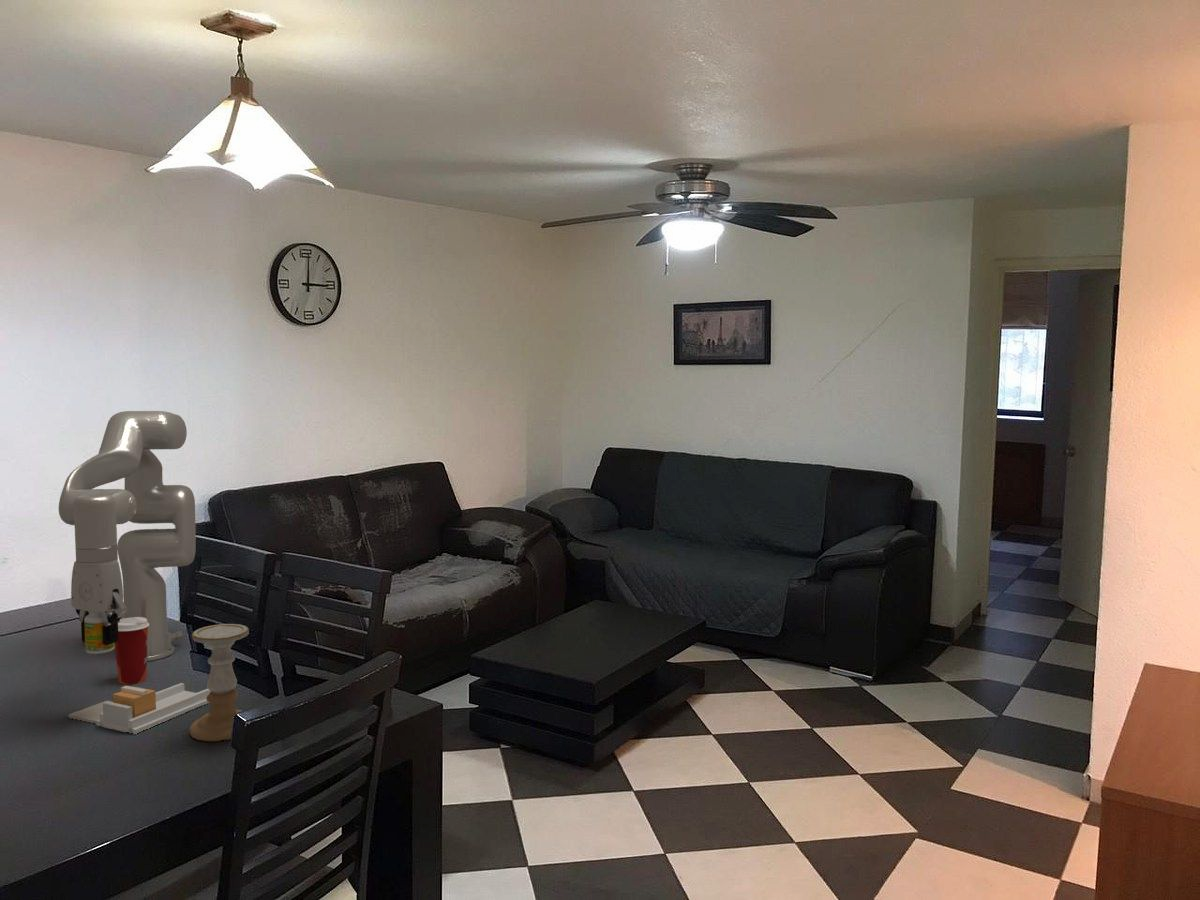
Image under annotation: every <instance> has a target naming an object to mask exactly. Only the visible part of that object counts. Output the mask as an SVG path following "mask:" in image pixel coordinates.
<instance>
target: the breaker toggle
mask: <svg viewBox="0 0 1200 900" xmlns="http://www.w3.org/2000/svg"><path fill="white" fill-rule="evenodd" d="M156 692H157V691H156V690H155V689H154V690H153V689H150V688H149V689H148V688H144V687H138V686H130V685H124V686H122V687H120V691H119V692H115V693H113V694H112V702H113V703H117V704H122V705H127V706H131V707H132V718H135V717H137V716H140V715H142V714H145V713H147V712H150V711H153V710H155V709H156Z"/></svg>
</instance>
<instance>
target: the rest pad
mask: <svg viewBox="0 0 1200 900" xmlns="http://www.w3.org/2000/svg"><path fill="white" fill-rule="evenodd" d="M107 701H108V702H112V701H111V700H105V701H102V702H99V703H97V704H93V705H90V706H88V707H86V708H83V709H81V710H77V711H75V712H72V713H69V714H68V715H67V718H68V717H69V719H72V718H73V720H76V719H77V720H76V721H80V720H82V721H81V722H85V721H86V722H85V723H89V722H90V723H89V724H93V723H95V724H94V725H97V724H96V721H97V720H100V714H101V713H103V703H104V702H107Z"/></svg>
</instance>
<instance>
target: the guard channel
mask: <svg viewBox="0 0 1200 900" xmlns="http://www.w3.org/2000/svg"><path fill="white" fill-rule="evenodd" d="M185 688H186V687H185V683H183V682H180V683H178V684H175V685H172V686H169V687H167V688H164V689H162V690H159V691H156V709H155V710H153V711H150V712H147V713H145V714H142V715H140V716H137V717H135V718H132V707H131V706H127V705H122V704H117V703H113V701H111V702H108V701H109V700H106V701H107V702H104V701H103V702H104V703H103V713H101V714H100V720H97V721H96V724H95V725H96V726H97V727H100V726H101V728H105V729H111V730H113V729H114V731H119V732H123V733H126V732H129V733H128V734H131V733H133V734H132V735H135V734H136V735H138V734H137V733H139V732H141V731H143V730H146V729H148V730H150V729H149V728H151V727H153V726H155V725H157V724H160V723H162V722H165V721H167V720H169V719H171V718H173V717H176V716H178V715H180V714H183V713H185V712H187V711H189V710H192V709H194V708H196V707H199V706H201V705H204V704H207V703H209V702H208V701H207V700H206V698H207V696H208V695H209V693H210V692H211V691H210V690H209V689H208V688H206V689H203V690H200V691H198V692H195V691H188V690H185ZM167 722H168V721H167ZM165 723H166V722H165ZM160 725H161V724H160ZM155 727H156V726H155ZM153 728H154V727H153ZM151 729H152V728H151ZM146 731H147V730H146ZM141 733H142V732H141ZM139 734H140V733H139Z"/></svg>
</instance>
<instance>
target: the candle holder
mask: <svg viewBox="0 0 1200 900" xmlns="http://www.w3.org/2000/svg"><path fill="white" fill-rule="evenodd" d="M249 633H250V629H249V627H248V626H247V625H243V624H238V623H222V624H221V623H219V624H214V625H212V624H211V625H208V626H203V627H201V628H197V629H196V630H194V631H193V632H192V633H191V639H192V640H193V641H194V642H197V643H199V644H200V643H201V644H206V646H207V647H209V648H210V650H211V654H210V657H208V658H207V663H208V664H209V665H210V671H209V677H208V679H207V683H206V687H207V689H209V690H210V691H211V692H210V693H209V695H208V696H207V698H206V700H207V701H208V702H209V703H210V704H209V705H210V711H209V712H208V713H205V714H204V715H202V716H200V718H198V719H197V720H195V721H194V722H193V723H192V724H191V725H190V727H189V730H188V731H189V735H190V737H191V738H193V739H194V738H195V739H194V740H197V741H201V740H202V741H203V742H222V741H221V740H224V741H229V740H231V739H230V735H231V728H232V722H233V717H234V715H235V714H236V713H238V712H241V711H243V710H242V709H236V703H235V701H236V700H237V699H238V697H239V693H238V692H237V691H236V690H235V687H236V686H237V684H238V679H237V677H236V674H235V672H234V669H233V662H234V661H235V660H236V657H235V655H233V654H232V652H231V650H232V649H231V648H232V647H233V645H234V644H235V642H236V641H239V640H241V639H244V638H245V637H247V636H249ZM225 739H226V740H225Z"/></svg>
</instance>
